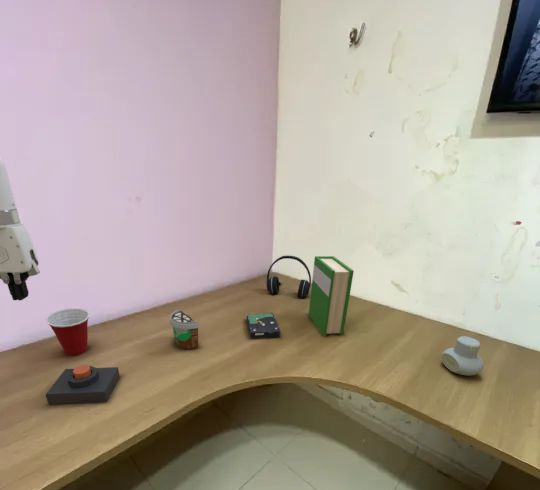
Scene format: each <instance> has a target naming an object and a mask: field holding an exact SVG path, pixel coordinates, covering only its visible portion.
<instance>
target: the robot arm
mask: <svg viewBox="0 0 540 490" xmlns="http://www.w3.org/2000/svg"><path fill="white" fill-rule="evenodd" d="M38 266H39V258H38V254H37V251H36V248H35V245H34V242H33V241H32V238H31V235H30V234H29V231H28V229H27V228H26V225H25V224H24V223H21V219H20V216H19V212H18V209H17V204H16V201H15V197H14V193H13V189H12V187H11V183H10V178H9V175H8V172H7V168H6V165H5V162H4V160H3V159H2V157H0V280H2V282H3V284H4V285H7V287H8V291H9V294H10V296H11V298H12V301H24V300H25V299H26V298H28V297H29V294H30V293H29V289H28V286H27V282H26V281H28V279H29V278H30V277H33V276H37V275H39V274H40V273H41V270H40V269H39V267H38Z"/></svg>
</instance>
